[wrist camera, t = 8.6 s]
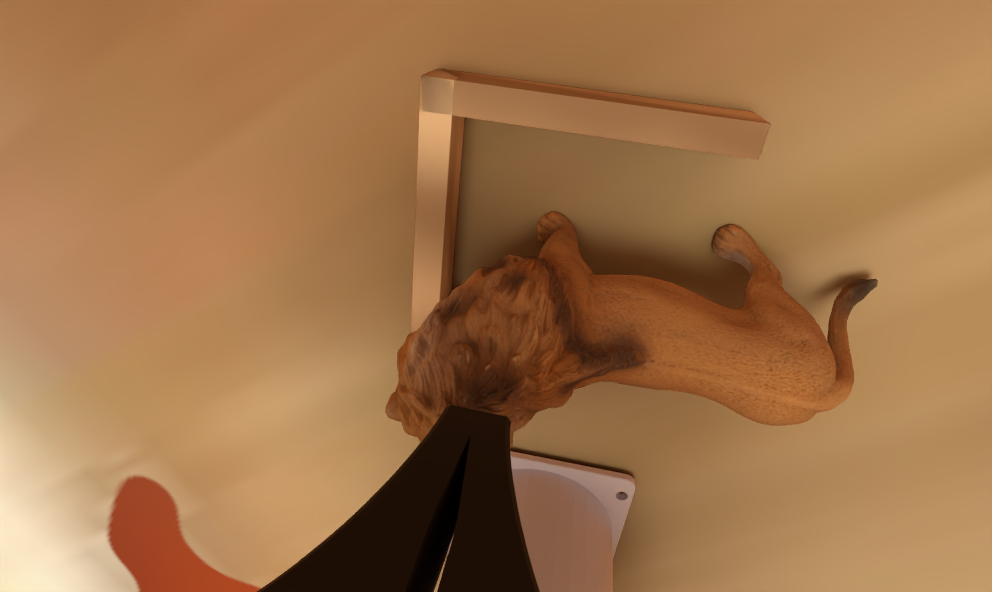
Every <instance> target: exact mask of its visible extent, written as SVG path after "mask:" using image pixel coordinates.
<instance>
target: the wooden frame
mask: <svg viewBox="0 0 992 592" xmlns="http://www.w3.org/2000/svg"><path fill="white" fill-rule="evenodd" d="M465 117H466V118H473V119H480V120H487V121H494V122H501V123H508V124H515V125H522V126H529V127H536V128H542V129H549V130H556V131H563V132H570V133H577V134H584V135H591V136H598V137H605V138H612V139H619V140H625V141H632V142H639V143H646V144H653V145H660V146H667V147H674V148H681V149H688V150H695V151H702V152H708V153H715V154H722V155H729V156H736V157H743V158H750V159H757V160H759V158H760V155H761V152H762V149H763V146H764V143H765V140H766V137H767V134H768V131H769V128H770V125H771V124H770V123H769V122H767V121H766V120H764V119H763V118H761V117H760V116H758V115H757V114H755V113H754V112H750V111H743V110H736V109H729V108H721V107H714V106H707V105H699V104H692V103H685V102H677V101H670V100H663V99H656V98H648V97H641V96H634V95H626V94H619V93H612V92H604V91H597V90H590V89H583V88H575V87H568V86H561V85H553V84H546V83H539V82H532V81H524V80H517V79H510V78H502V77H495V76H488V75H480V74H473V73H466V72H459V71H451V70H444V69H436V70H434V71H431V72H429V73H426V74H424V75H421V89H420V114H419V140H418V165H417V190H416V216H415V241H414V267H413V292H412V317H411V333H413V332H415V331H417V330H418V329H419V328H420V327H421V325H422V323H423V322H424V320H425V319H426V318H427V316H428V315H429V314H430V313H431V312H432V311H433V309H434V307H435V305H436V304H437V303H438V302H440V301H441V300H443V299H445V298H447V297H449V296H450V294H451V292H452V291H453V290H451V288H452V275H453V262H454V250H455V237H456V224H457V211H458V198H459V185H460V173H461V160H462V147H463V134H464V121H465Z"/></svg>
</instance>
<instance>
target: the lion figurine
mask: <svg viewBox="0 0 992 592" xmlns="http://www.w3.org/2000/svg"><path fill="white" fill-rule="evenodd" d="M536 229H537V238H538V240H539V241H541V242H544V243H545V244H544V246H543V247H542V249H541V251H540V254H539V257H534V256H529V257H526V258H522V257H520V256H513V255H507V256H506V257H504V258H502V259H500V260H499V261H498V262H497V263H496V264H495V266H494V267H493V268H480V269H477V270H476V271H475V272H473V273H472V274H471V275H470V276H469V277H468V279H467V280H466V281H465V282H464V283H463V284H462V285H461V286H458V287H456V288H455V289H454V290H453V291H452V292H451V294H450V296H449V297H447V298H445V299H443V300H441V301H440V302H438V303H437V304H436V305H435V307H434V309H433V311H432V312H431V313H430V314H429V315H428V316H427V318H426V319H425V320H424V322H423V323H422V325H421V327H420V328H419V329H418V330H417V331H415V332H413V333H410V334H409V335H408V337H407V339H406V341H405V343H404V344H403V346H402V347H401V348H400V349H399V350H398V353H397V367H398V372H399V374H398V377H399V381H398V385H397V388H396V390H395V392H394V393H393V394H392V395H391V397H390V399H389V401H388V403H387V405H386V411H385V412H386V414H387V416H388V418H390V419H394V420H396V421H400V422H402V424H403V428H404V431H405V432H406V433H407V434H409V435H412V436H416V437H418V439H419V440H420V442H422V441H423V439H424V438H425V437H426V435H427V434H428V433H429V431H430V430H431V429H432V427H433V426H434V425H435V423H436V422H437V420H438V419H439V417H440V416H441V414H442V413H443V411H444V409H445V408H446V407H448V406H450V405H455V406H459V407H464V408H469V409H474V410H478V411H483V412H488V413H492V414H497V415H502V416H506V417H508V418H509V420H510V421H511V427H510V448H511V447H512V442H513V433H514V432H515V431H516V430H518V429H520V428H522V427H524V426H525V425H526V424H527V423H528V421H529V420H531V419H532V417H533V416H534V415H535V413H536V412H538V411H541V410H544V409H547V408H549V407H550V408H557V407H560V406H563V405H564V404H565V403H566V402H567V401H568V399H569V398H570V397H571V395H572V392H573V389H577V388H581V387H584V386H587V385H589V384H591V383H595V382H599V381H607V382H616V383H620V384H625V385H631V386H637V387H643V388H649V389H655V390H672V391H681V392H686V393H691V394H695V395H699V396H702V397H706V398H708V399H711V400H713V401H716V402H718V403H720V404H722V405H724V406H726V407H728V408H729V409H731V410H733V411H735V412H736V413H738V414H740V415H742V416H744V417H746V418H748V419H750V420H752V421H755V422H758V423H762V424H766V425H775V426H780V425H792V424H799V423H803V422H806V421H808V420H810V419H811V418H812V417H813V416H814V415H815V414H816V413H818V412H822V411H827V410H831V409H833V408H834V407H836V406H838V405H839V404H841V403H842V402H844V401H845V399H846V398H847V397H848V395H849V394H850V392H851V389H852V386H853V382H854V372H853V366H852V359H851V354H850V349H849V342H848V335H847V319H848V316H849V314H850V312H851V310H852V308H853V306H855V305H856V304H857V303H858V302H859V301H861V300H862V299H864V298H865V296H866V295H867V294H868V293H869V292H870V291H871V290H873V289H874V288H875V287H876V286H877V282H878V281H877V280H876V279H871V280H864V279H857V280H854V281H851V282H850V283H849V284H848V285H846V286H845V287H844V288H843V289H842V291H841V292H840V293H839V294H838V296H837V297H836V299H835V301H834V304H833V308H832V312H831V315H830V318H829V325H828V326H829V330H828V337H827V338H828V342H827V340H826V338H825V336H824V334H823V332H822V330H821V329H820V327H819V325H818V324H817V322H816V321H815V320H814V318H813V317H812V316H811V315H810V314H809V313H808V312H807V311H806V310H805V309H804V308H803V307H802V306H801V305H800V304H799V303H798V302H797V301H795V300H794V299H793V298H792V297H791V296H790V295H789V294H787V293H786V292H785V291H784V290H783V288H782V287H781V283H782V277H781V273H780V272H779V271H778V269H777V268H776V267H775V266H774V265H773V263H771V262H770V261H769V260H768V258H767V257H766V256H765V255H763V253H762V252H761V251H760V250H759V248H758V247H757V245H756V243H755V242H754V240H753V239H752V238H751V236H750V235H749V234H748V233H747V232H746V231H744V230H743V229H742V228H740V227H738V226H735V225H727V226H724V227H722V228H720V229H719V230H718V231H717V232H716V234H715V237H714V240H713V242H712V248H713V251H714V252H715V253H716V254H717V255H718V256H720V257H721V258H724V259H727V260H731V261H735V262H737V263H739V264H741V265H742V266H743V267H745V268H746V269H747V270H748V271H749V273H750V274H751V278H750V280H749V282H748V284H747V286H746V289H745V294H744V305H743V306H742V307H741V308H739V309H731V308H727V307H724V306H721V305H719V304H716V303H714V302H712V301H709V300H707V299H705V298H704V297H702V296H700V295H698V294H696V293H694V292H692V291H690V290H688V289H685V288H683V287H681V286H679V285H676V284H674V283H671V282H667V281H663V280H659V279H655V278H651V277H645V276H638V275H595V274H593V272H592V270H591V269H590V267H589V266H588V265H587V264H586V263H585V261H584V260H583V259H582V257H581V255H580V253H579V248H578V239H577V236H576V233H575V230H574V228H573V226H572V224H571V223H570V222H569V221H568V220H567V218H566V217H565V216H563V215H562V214H560V213H557V212H549V213H548V214H546V215H544V216H543V217H541V219H540V220H539V222H538V224H537V227H536Z"/></svg>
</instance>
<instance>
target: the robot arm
mask: <svg viewBox="0 0 992 592" xmlns="http://www.w3.org/2000/svg"><path fill="white" fill-rule="evenodd" d="M510 427H511V421H510V420H509V418H508V417H506V416H502V415H497V414H492V413H488V412H483V411H478V410H474V409H469V408H464V407H459V406H455V405H450V406H448V407H446V408H445V409H444V411H443V413H442V414H441V416H440V417H439V419H438V420H437V422H436V423H435V425H434V426H433V427H432V429H431V430H430V431H429V433H428V434H427V435H426V437H425V438H424V439H423V441H422V442H421V443H420V444H419V446H418V447H417V448H416V449H415V450H414V452H413V453H412V454H411V455H410V456H409V457H408V459H407V460H406V461H405V462H404V463H403V464H402V466H401V467H400V468H399V469H398V470H397V471H396V472H395V474H394V475H393V476H392V477H391V478H390V479H389V480H388V481H387V482H386V483H385V484H384V485H383V486H382V487H381V488H380V489H379V490H378V491H377V492H376V493H375V494H374V495H373V496H372V497H371V498H370V499H369V500H368V501H367V503H365V504H364V505H363V506H362V507H361V508H360V509H359V510H358V511H357V512H356V513H355V514H354V515H353V516H352V517H351V518H350V519H349V520H347V521H346V522H345V523H344V524H343V525H342V526H341V527H340V528H338V529H337V530H336V531H335V532H334V533H333V534H332V535H330V536H329V537H328V538H327V539H326V540H325V541H323V542H322V543H321V544H320V545H318V546H317V547H316V548H315V549H313V550H312V551H311V552H310V553H308V554H307V555H306V556H305V557H303V558H302V559H301V560H300V561H299V562H297V563H296V564H295V565H293V566H292V567H291V568H289V569H288V570H287V571H285V572H284V573H283V574H281V575H280V576H279V577H277V578H276V579H275V580H273V581H272V582H270V583H269V584H267V585H266V586H265V587H263V588H262V589H260V590H259V591H258V592H434V589H435V586H436V583H437V580H438V578H439V575H440V572H441V569H442V566H443V563H444V561H445V558H446V555H447V552H448V556H447V560H446V563H445V567H444V570H443V574H442V577H441V581H440V584H439V588H438V591H437V592H613V558H614V554H615V551H616V548H617V545H618V542H619V539H620V536H621V533H622V530H623V527H624V524H625V521H626V518H627V515H628V511H629V508H630V505H631V502H632V499H633V496H634V493H635V490H636V484H635V480H634V478H633V477H632V476H630V475H627V474H623V473H618V472H613V471H608V470H603V469H598V468H593V467H588V466H583V465H578V464H573V463H568V462H563V461H558V460H553V459H548V458H543V457H538V456H533V455H528V454H523V453H518V452H513V451H510ZM618 492H624V493H623V494H622V493H618Z"/></svg>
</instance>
